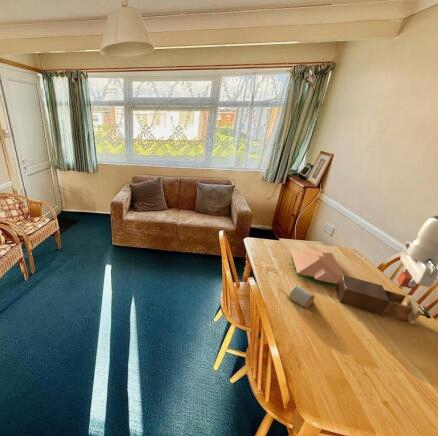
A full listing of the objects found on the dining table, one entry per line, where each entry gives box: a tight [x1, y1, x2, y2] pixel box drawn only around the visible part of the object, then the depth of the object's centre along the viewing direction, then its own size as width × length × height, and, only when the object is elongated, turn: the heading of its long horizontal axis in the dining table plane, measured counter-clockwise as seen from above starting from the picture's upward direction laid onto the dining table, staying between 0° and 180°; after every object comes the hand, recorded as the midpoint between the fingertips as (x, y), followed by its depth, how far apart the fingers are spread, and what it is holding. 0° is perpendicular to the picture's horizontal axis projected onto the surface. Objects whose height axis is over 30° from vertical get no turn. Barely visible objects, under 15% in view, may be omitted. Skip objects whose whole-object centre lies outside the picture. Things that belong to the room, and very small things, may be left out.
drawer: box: [382, 289, 432, 325], centre depth 100 cm, size 18×10×8 cm, turn 58°
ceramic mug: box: [288, 285, 315, 309], centre depth 108 cm, size 11×8×8 cm
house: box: [290, 247, 345, 288], centre depth 131 cm, size 23×33×8 cm
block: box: [396, 271, 419, 291], centre depth 95 cm, size 4×4×4 cm
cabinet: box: [335, 274, 390, 316], centre depth 107 cm, size 15×12×10 cm
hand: (407, 281), depth 95 cm, fingers closed on block, 4 cm apart
